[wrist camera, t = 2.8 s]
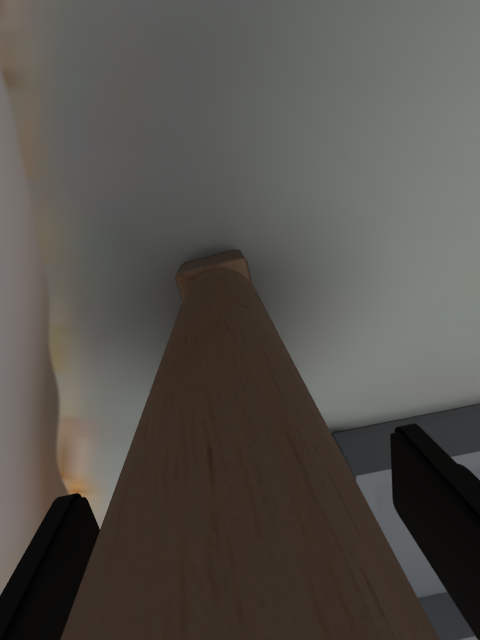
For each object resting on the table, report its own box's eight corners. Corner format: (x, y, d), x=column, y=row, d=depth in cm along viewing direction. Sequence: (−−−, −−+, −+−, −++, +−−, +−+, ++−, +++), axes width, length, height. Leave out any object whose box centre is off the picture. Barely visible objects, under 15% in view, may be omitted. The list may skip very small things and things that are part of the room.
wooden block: (226, 414, 22) (264, 1096, 5) (180, 262, 18) (-217, 833, 1) (277, 401, 22) (491, 1042, 5) (241, 247, 18) (550, 648, 1)
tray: (332, 433, 23) (355, 476, 19) (523, 395, 23) (583, 430, 20) (349, 609, 30) (369, 667, 26) (497, 579, 30) (538, 631, 26)
